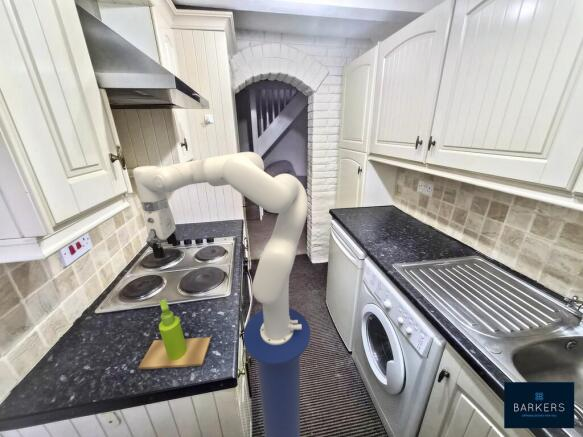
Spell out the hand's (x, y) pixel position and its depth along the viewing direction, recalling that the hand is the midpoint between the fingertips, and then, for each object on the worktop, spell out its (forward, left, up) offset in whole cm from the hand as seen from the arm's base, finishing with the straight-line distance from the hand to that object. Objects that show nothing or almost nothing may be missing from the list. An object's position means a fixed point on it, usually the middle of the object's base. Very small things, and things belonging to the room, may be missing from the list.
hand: (166, 250), depth 81 cm
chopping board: (-4, +16, -31) cm, 35 cm away
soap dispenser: (-4, +16, -31) cm, 35 cm away
